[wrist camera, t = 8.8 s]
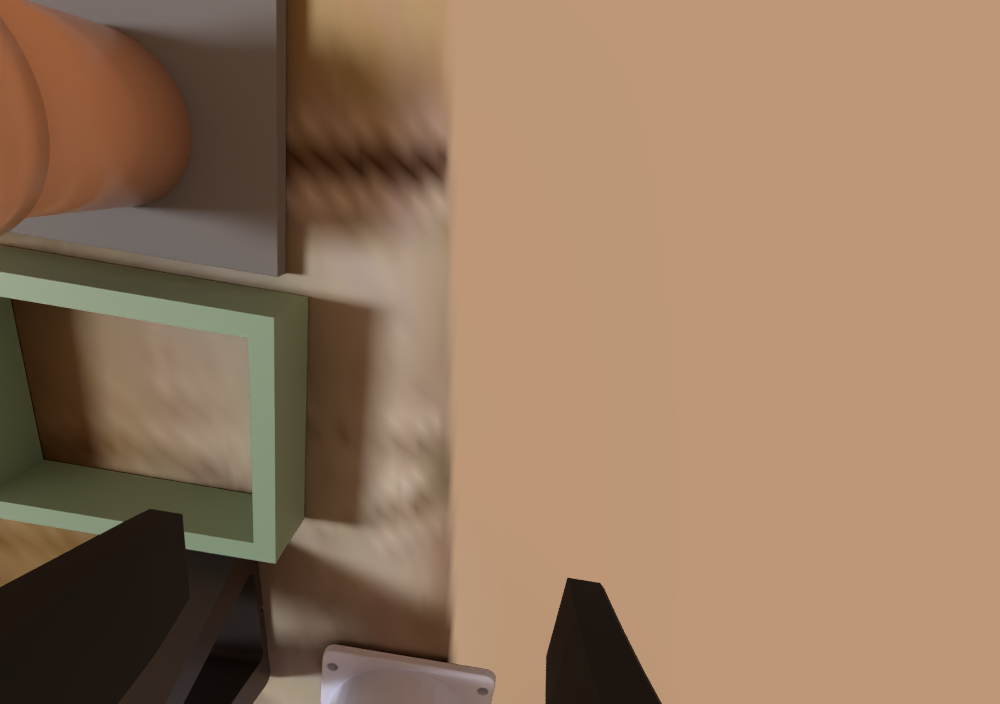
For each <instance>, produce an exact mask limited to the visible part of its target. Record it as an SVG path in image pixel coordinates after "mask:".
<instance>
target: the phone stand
mask: <svg viewBox="0 0 1000 704" xmlns="http://www.w3.org/2000/svg"><path fill="white" fill-rule="evenodd" d="M98 535H99V534H98ZM186 558H187V569H188V580H189V592H190V598H189V600H188V601H187V603H186V605H185V606H184V608H183V610H182V611H181V613H180V615H179V617H178V618H177V620H176V622H175V623H174V625H173V627H172V628H171V630H170V632H169V633H168V635H167V636H166V638H165V640H164V641H163V643H162V644H161V646H160V647H159V649H158V651H157V652H156V654H155V655H154V657H153V658H152V659H151V661H150V662H149V663H148V665H147V666H146V667H145V669H144V670H143V671H142V673H141V674H140V675H139V677H138V678H137V679H136V681H135V682H134V683H133V685H132V686H131V687H130V689H129V690H128V691H127V693H126V694H125V695H124V697H123V698H122V699H121V700H120V702H119V703H118V704H253V702H254V701H255V700H256V698H257V697H258V695H259V694H260V693H261V691H262V690H263V688H264V687H265V686H266V684H267V682H268V679H269V676H270V666H269V657H268V648H267V639H266V630H265V621H264V612H263V610H261V607H262V605H263V603H262V594H261V586H260V577H259V568H258V561H256V560H250V559H244V558H238V557H232V556H226V555H220V554H214V553H208V552H201V551H195V550H189V549H186Z"/></svg>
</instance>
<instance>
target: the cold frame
mask: <svg viewBox="0 0 1000 704" xmlns="http://www.w3.org/2000/svg"><path fill="white" fill-rule="evenodd" d="M10 298H12V299H18V300H24V301H29V302H35V303H41V304H47V305H53V306H59V307H65V308H71V309H77V310H83V311H89V312H95V313H101V314H107V315H113V316H119V317H125V318H131V319H137V320H143V321H149V322H155V323H161V324H167V325H173V326H178V327H184V328H190V329H196V330H202V331H208V332H214V333H220V334H226V335H232V336H238V337H244V338H248V351H249V388H250V425H251V463H252V494H248V493H242V492H236V491H230V490H224V489H218V488H212V487H206V486H200V485H194V484H188V483H182V482H176V481H170V480H164V479H158V478H152V477H146V476H139V475H133V474H127V473H121V472H115V471H109V470H103V469H97V468H91V467H85V466H79V465H73V464H67V463H61V462H55V461H49V460H43V455H42V451H41V446H40V441H39V436H38V431H37V426H36V421H35V416H34V412H33V407H32V402H31V397H30V392H29V387H28V382H27V377H26V373H25V368H24V363H23V358H22V353H21V348H20V343H19V338H18V334H17V329H16V324H15V319H14V314H13V309H12V304H11V299H10ZM307 347H308V297H306V296H301V295H295V294H289V293H283V292H277V291H271V290H265V289H259V288H253V287H247V286H241V285H235V284H229V283H223V282H217V281H211V280H206V279H200V278H194V277H188V276H182V275H176V274H170V273H164V272H158V271H152V270H146V269H140V268H134V267H128V266H122V265H116V264H111V263H105V262H99V261H93V260H87V259H81V258H75V257H69V256H63V255H57V254H51V253H45V252H39V251H33V250H27V249H21V248H16V247H10V246H4V245H0V518H2V519H8V520H14V521H20V522H26V523H32V524H38V525H44V526H50V527H56V528H62V529H68V530H74V531H80V532H86V533H93V534H99V535H100V534H102V533H104V532H105V531H107V530H109V529H111V528H113V527H115V526H117V525H119V524H121V523H122V522H124V521H126V520H128V519H130V518H132V517H134V516H136V515H138V514H140V513H142V512H144V511H146V510H148V509H155V510H161V511H167V512H173V513H179V514H183V525H184V536H185V547H186V549H189V550H195V551H201V552H208V553H214V554H220V555H226V556H232V557H238V558H244V559H250V560H256V561H262V562H268V563H274V564H276V562H277V561H278V559H279V558H280V556H281V554H282V553H283V551H284V550H285V548H286V546H287V545H288V543H289V542H290V540H291V539H292V537H293V535H294V534H295V532H296V531H297V529H298V527H299V526H300V524H301V523H302V521H303V520H304V502H305V451H306V399H307Z"/></svg>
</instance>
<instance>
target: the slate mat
mask: <svg viewBox="0 0 1000 704" xmlns="http://www.w3.org/2000/svg"><path fill="white" fill-rule="evenodd" d="M29 1H32V2H35V3H38V4H41V5H44V6H48V7H51V8H54V9H57V10H60V11H63V12H66V13H69V14H72V15H75V16H78V17H81V18H84V19H87V20H90V21H94V22H97V23H100V24H103V25H106V26H109V27H111V28H114V29H117V30H119V31H121V32H123V33H125V34H127V35H129V36H130V37H132V38H134V39H135V40H136V41H138V42H139V43H141V44H142V45H143V46H144V47H146V48H147V49H148V50H149V51H150V52H151V53H152V54H153V55H154V56H155V57H156V58H157V59H158V60H159V61H160V62H161V63H162V65H163V66H164V67H165V69H166V70H167V71H168V73H169V74H170V76H171V77H172V79H173V81H174V82H175V84H176V86H177V88H178V90H179V92H180V94H181V96H182V98H183V101H184V104H185V107H186V110H187V114H188V118H189V123H190V131H191V148H190V156H189V160H188V164H187V167H186V169H185V172H184V174H183V176H182V178H181V179H180V181H179V182H178V184H177V185H176V186H175V187H174V188H173V190H172V191H170V192H169V193H168V194H167V195H165V196H164V197H162V198H161V199H159V200H157V201H155V202H152V203H149V204H145V205H140V206H132V207H123V208H114V209H105V210H95V211H86V212H77V213H68V214H58V215H49V216H40V217H31V218H25V219H24V220H23V221H22V222H21V223H20V224H18V225H17V226H16V227H15V228H13V229H12V230H10V231H8V232H13V233H19V234H25V235H31V236H37V237H43V238H49V239H55V240H61V241H67V242H73V243H79V244H85V245H91V246H96V247H102V248H108V249H114V250H120V251H126V252H132V253H138V254H144V255H150V256H156V257H162V258H168V259H174V260H179V261H185V262H191V263H197V264H203V265H209V266H215V267H221V268H227V269H233V270H239V271H245V272H251V273H257V274H263V275H268V276H274V277H279V276H281V275H283V274H285V273H286V0H29Z"/></svg>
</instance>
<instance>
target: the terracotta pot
mask: <svg viewBox="0 0 1000 704" xmlns="http://www.w3.org/2000/svg"><path fill="white" fill-rule="evenodd" d="M190 148H191V131H190V123H189V118H188V114H187V110H186V107H185V104H184V101H183V98H182V96H181V94H180V92H179V90H178V88H177V86H176V84H175V82H174V81H173V79H172V77H171V76H170V74H169V73H168V71H167V70H166V69H165V67H164V66H163V65H162V63H161V62H160V61H159V60H158V59H157V58H156V57H155V56H154V55H153V54H152V53H151V52H150V51H149V50H148V49H147V48H146V47H144V46H143V45H142V44H141V43H139V42H138V41H136V40H135V39H134V38H132V37H130V36H129V35H127V34H125V33H123V32H121V31H119V30H117V29H114V28H111V27H109V26H106V25H103V24H100V23H97V22H94V21H90V20H87V19H84V18H81V17H78V16H75V15H72V14H69V13H66V12H63V11H60V10H57V9H54V8H51V7H48V6H44V5H41V4H38V3H35V2H32V1H29V0H0V236H1V235H3V234H5V233H7V232H8V231H10V230H12V229H13V228H15V227H16V226H17V225H18V224H20V223H21V222H22V221H23V220H24V219H25V218H31V217H40V216H49V215H58V214H68V213H77V212H86V211H95V210H105V209H114V208H123V207H132V206H140V205H145V204H149V203H152V202H155V201H157V200H159V199H161V198H162V197H164V196H165V195H167V194H168V193H169V192H170V191H172V190H173V188H174V187H175V186H176V185H177V184H178V182H179V181H180V179H181V178H182V176H183V174H184V172H185V169H186V167H187V164H188V160H189V156H190Z"/></svg>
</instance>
